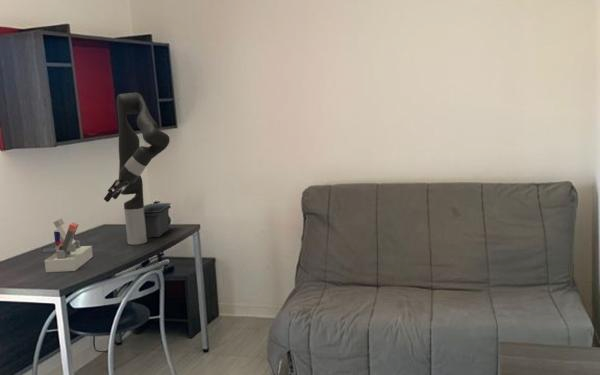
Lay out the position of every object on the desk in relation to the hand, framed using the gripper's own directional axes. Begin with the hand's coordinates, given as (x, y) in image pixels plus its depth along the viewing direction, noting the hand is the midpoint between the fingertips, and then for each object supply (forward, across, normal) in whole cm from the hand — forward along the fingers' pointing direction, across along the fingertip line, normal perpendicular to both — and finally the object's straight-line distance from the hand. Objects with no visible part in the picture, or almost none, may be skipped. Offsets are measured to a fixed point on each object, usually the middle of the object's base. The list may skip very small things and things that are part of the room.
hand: (109, 199), depth 250 cm
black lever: (+30, +1, -1) cm, 31 cm away
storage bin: (+20, -57, +16) cm, 62 cm away
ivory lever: (+30, -10, -2) cm, 32 cm away
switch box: (+35, -4, +3) cm, 35 cm away
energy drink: (+41, -19, -5) cm, 46 cm away
